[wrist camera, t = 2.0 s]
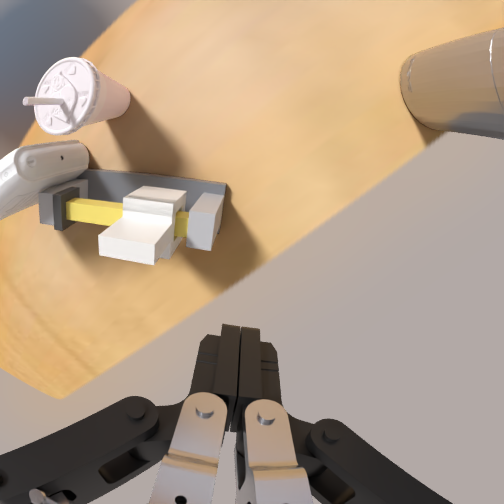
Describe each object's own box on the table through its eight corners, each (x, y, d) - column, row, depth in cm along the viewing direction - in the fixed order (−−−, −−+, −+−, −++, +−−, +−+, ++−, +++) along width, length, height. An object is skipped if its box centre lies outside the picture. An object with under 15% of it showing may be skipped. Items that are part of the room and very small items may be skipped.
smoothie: (97, 139, 26) (5, 158, 13) (84, 88, 23) (-7, 80, 10) (149, 116, 25) (68, 113, 12) (135, 62, 23) (54, 28, 10)
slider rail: (226, 183, 28) (216, 203, 20) (219, 230, 30) (208, 265, 22) (78, 168, 27) (34, 183, 20) (78, 210, 29) (37, 235, 21)
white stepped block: (186, 191, 24) (155, 221, 16) (182, 238, 26) (153, 285, 18) (143, 185, 24) (97, 213, 16) (141, 232, 25) (100, 274, 18)
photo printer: (83, 133, 25) (2, 142, 14) (96, 167, 27) (18, 191, 15) (29, 175, 27) (-43, 201, 15) (40, 205, 28) (-29, 240, 17)
